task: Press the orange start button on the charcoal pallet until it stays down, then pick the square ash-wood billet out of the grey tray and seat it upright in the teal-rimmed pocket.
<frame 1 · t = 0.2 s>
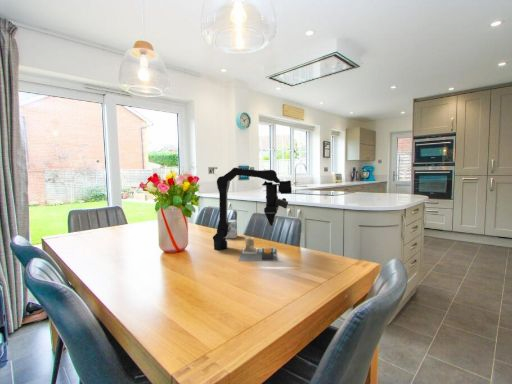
hand: (272, 223, 137), 14 cm above the table, tool pointing down, fingers open, 9 cm apart
pallet: (258, 256, 128), on the table
billet: (250, 251, 133), point 1 cm above the table, touching pallet
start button: (267, 251, 123), point 4 cm above the table, slide at 0.0 cm
light bulb box: (228, 237, 168), on the table
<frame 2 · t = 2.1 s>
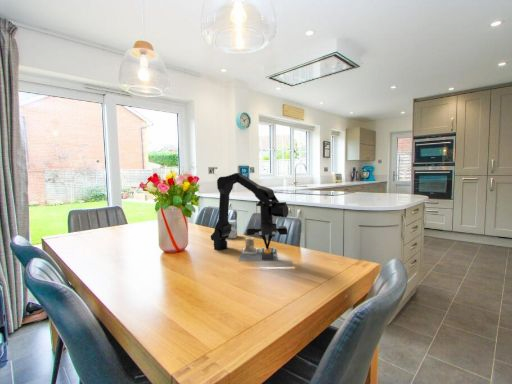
hand: (267, 248, 123), 5 cm above the table, tool pointing down, fingers closed, pressing on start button
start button: (267, 251, 123), point 4 cm above the table, slide at 0.1 cm, touching gripper
everything else where it was.
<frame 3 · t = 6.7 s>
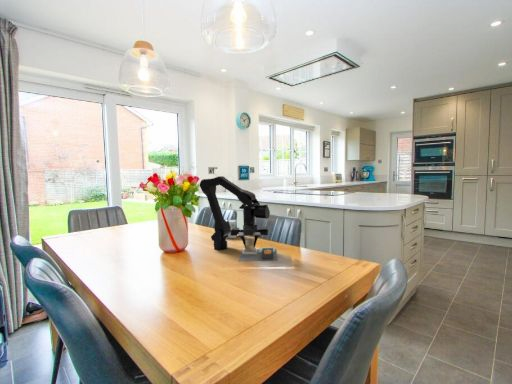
hand: (250, 248, 133), 3 cm above the table, tool pointing down, fingers closed on billet, 4 cm apart
billet: (250, 251, 133), point 1 cm above the table, touching gripper, pallet
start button: (267, 253, 123), point 3 cm above the table, slide at 1.2 cm
everything else where it was.
when the fingers open (4 cm above the table, at t = 10.9 s): billet moves 1 cm, resting on pallet.
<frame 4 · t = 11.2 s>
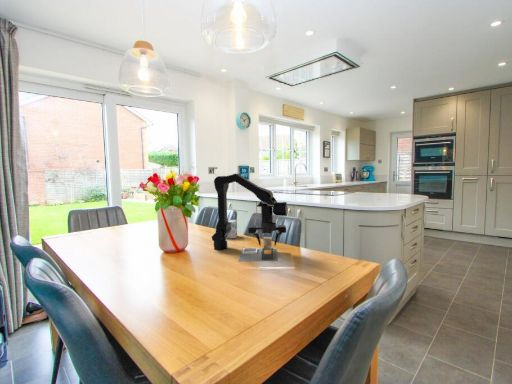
hand: (267, 245, 132), 4 cm above the table, tool pointing down, fingers open, 7 cm apart
billet: (267, 251, 133), point 1 cm above the table, touching pallet
everything else where it was.
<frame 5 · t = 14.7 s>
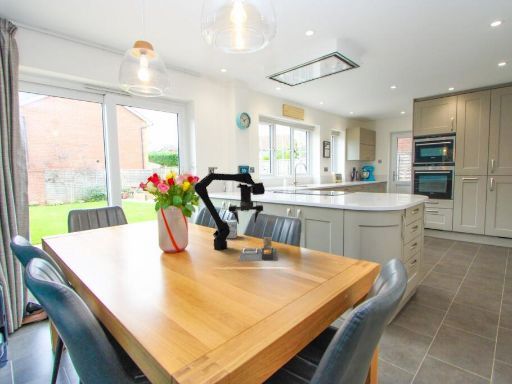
hand: (246, 223, 145), 13 cm above the table, tool pointing down, fingers open, 9 cm apart
nothing on the table moved.
at the end: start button slide at 1.2 cm; billet 0.0 cm from the target spot on the pallet, point 1.0 cm above the pallet's base; billet tilted 0° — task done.
